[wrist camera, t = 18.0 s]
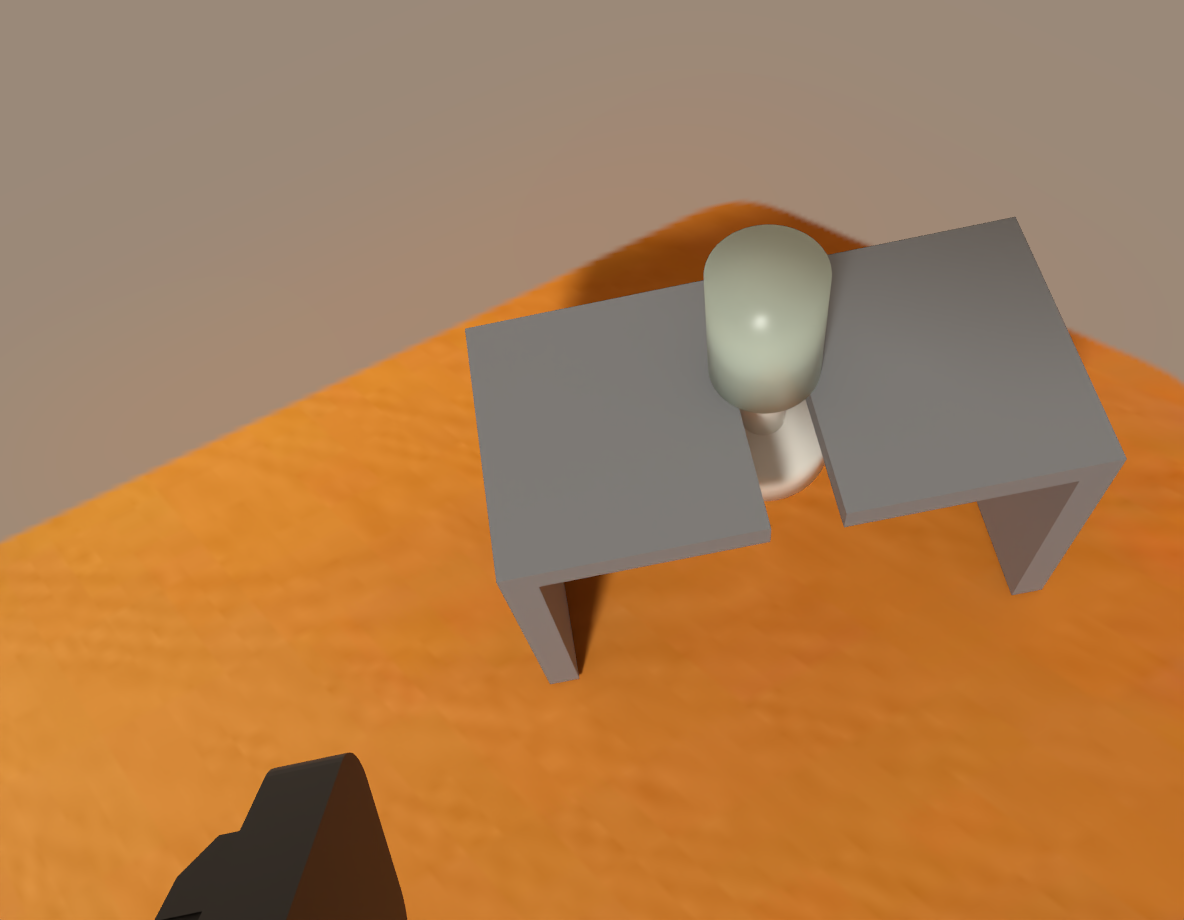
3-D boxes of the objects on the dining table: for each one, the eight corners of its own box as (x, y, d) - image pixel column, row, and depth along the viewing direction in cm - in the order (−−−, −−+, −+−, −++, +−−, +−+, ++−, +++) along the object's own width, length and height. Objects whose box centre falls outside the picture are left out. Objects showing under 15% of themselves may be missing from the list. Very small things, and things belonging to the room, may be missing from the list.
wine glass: (712, 513, 41) (704, 359, 31) (683, 402, 43) (668, 229, 34) (844, 485, 40) (874, 322, 31) (808, 375, 43) (826, 194, 34)
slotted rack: (550, 684, 44) (496, 582, 34) (519, 470, 49) (464, 328, 39) (1041, 589, 43) (1126, 459, 34) (961, 382, 48) (1015, 216, 39)
